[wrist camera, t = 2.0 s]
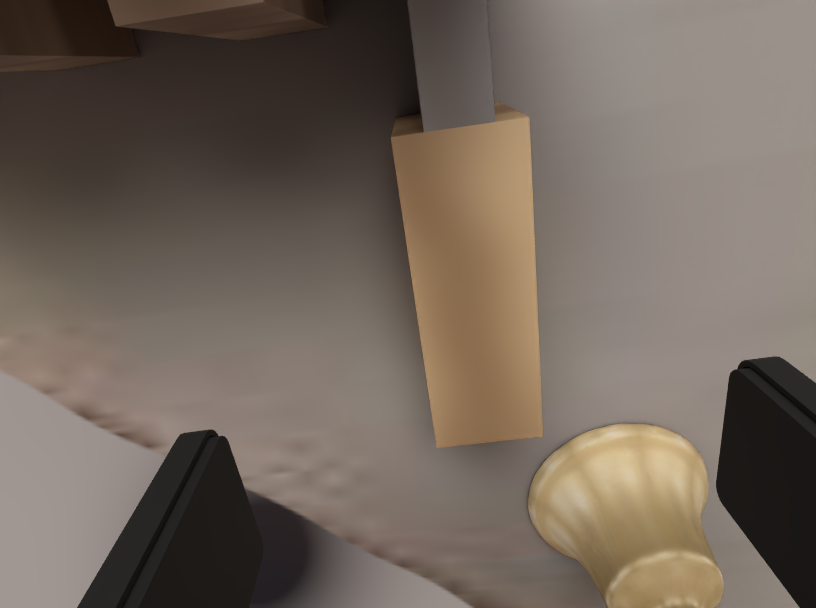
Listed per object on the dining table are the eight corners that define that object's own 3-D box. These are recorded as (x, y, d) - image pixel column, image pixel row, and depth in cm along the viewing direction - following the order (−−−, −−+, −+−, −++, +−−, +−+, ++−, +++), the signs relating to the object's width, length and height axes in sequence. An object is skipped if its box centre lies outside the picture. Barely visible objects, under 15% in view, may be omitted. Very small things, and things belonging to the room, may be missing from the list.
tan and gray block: (490, -37, 16) (521, -75, 12) (515, 358, 22) (543, 436, 17) (376, -19, 16) (363, -49, 12) (431, 368, 22) (436, 447, 18)
